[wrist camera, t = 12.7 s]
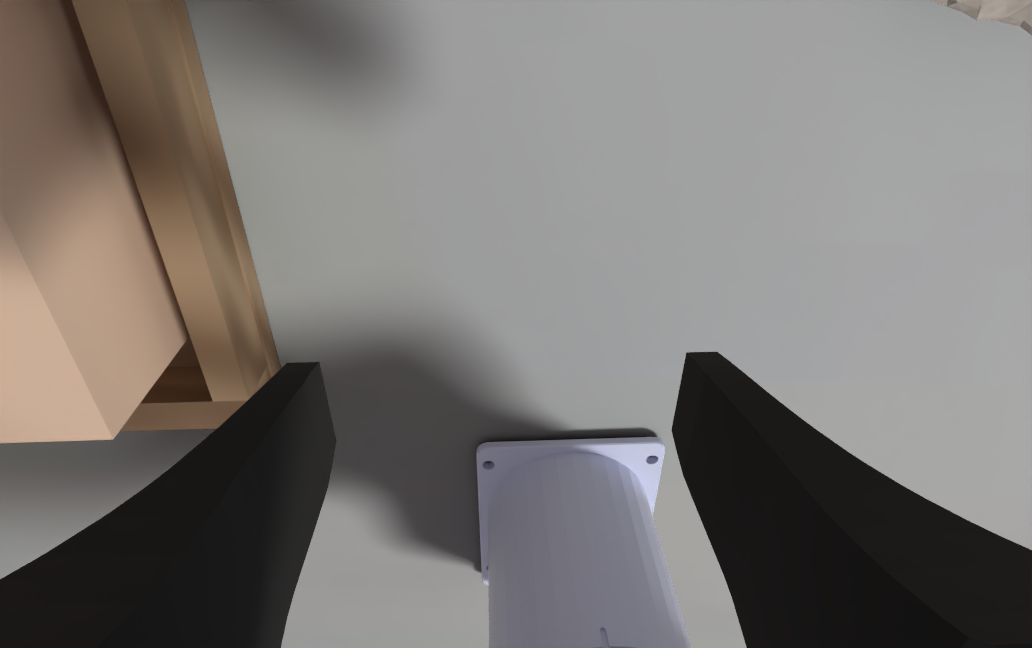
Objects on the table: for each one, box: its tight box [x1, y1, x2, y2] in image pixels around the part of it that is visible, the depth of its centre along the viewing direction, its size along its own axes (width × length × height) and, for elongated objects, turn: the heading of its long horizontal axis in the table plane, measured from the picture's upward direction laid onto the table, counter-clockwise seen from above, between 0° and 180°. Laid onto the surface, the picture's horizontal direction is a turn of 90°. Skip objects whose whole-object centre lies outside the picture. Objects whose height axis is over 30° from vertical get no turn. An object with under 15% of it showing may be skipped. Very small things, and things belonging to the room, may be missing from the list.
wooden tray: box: [72, 0, 281, 431], centre depth 17 cm, size 18×8×3 cm, turn 0°
